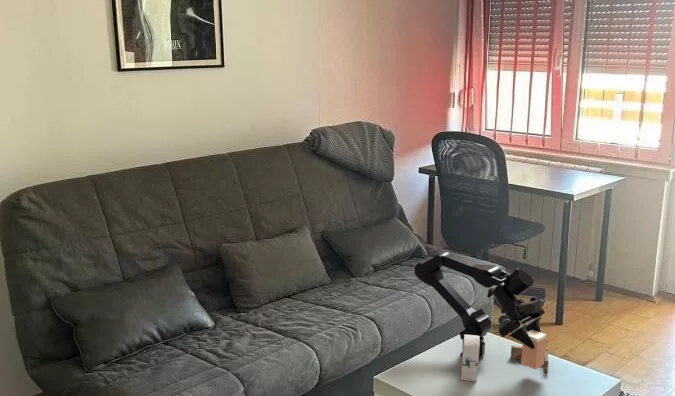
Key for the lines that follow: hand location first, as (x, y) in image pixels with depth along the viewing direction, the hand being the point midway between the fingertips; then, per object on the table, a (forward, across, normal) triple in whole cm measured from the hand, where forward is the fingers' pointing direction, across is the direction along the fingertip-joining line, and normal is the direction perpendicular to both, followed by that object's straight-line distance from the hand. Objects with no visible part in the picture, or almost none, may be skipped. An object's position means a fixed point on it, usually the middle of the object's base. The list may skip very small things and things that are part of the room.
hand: (538, 345), depth 205 cm
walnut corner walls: (+3, +6, +12) cm, 14 cm away
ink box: (-3, -13, +19) cm, 23 cm away
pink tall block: (+4, 0, +6) cm, 7 cm away
